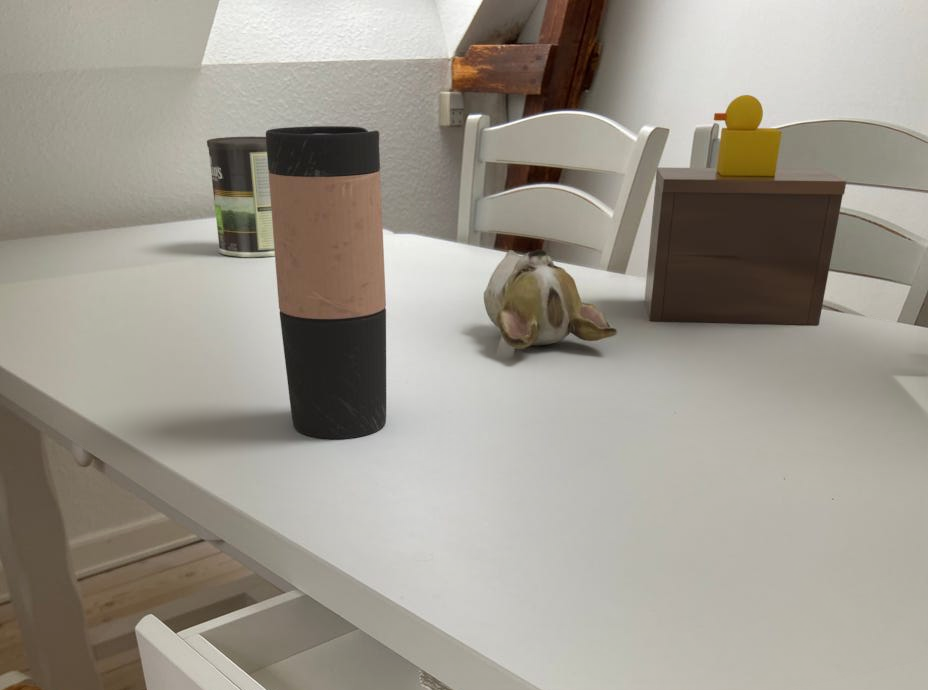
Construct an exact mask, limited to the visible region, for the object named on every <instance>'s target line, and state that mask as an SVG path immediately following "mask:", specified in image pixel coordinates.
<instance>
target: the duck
mask: <svg viewBox="0 0 928 690" xmlns="http://www.w3.org/2000/svg"><path fill="white" fill-rule="evenodd" d="M763 115H764V110H763V106H762V103H761V102H760V100H759V99H758V98H756V97H755V96H753V95H751V94H742V95H740V96H737V97H735V98H734V99H733V100H731V102H730V103H729V104H728V106H727V107H726V110H725V112H715V113H714V114H713V120H714V121H719V122H721V121H724V123H725V127H721V131H720V141H719V147H718V156H717V163H716V168H717V172H718V173H719V174H721V175H722V176H775V173H776V169H777V165H778V159H779V153H780V146H781V139H782V131H781V130H779V129H778V128H774V127H760V125H761V123H762V120H763Z"/></svg>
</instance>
